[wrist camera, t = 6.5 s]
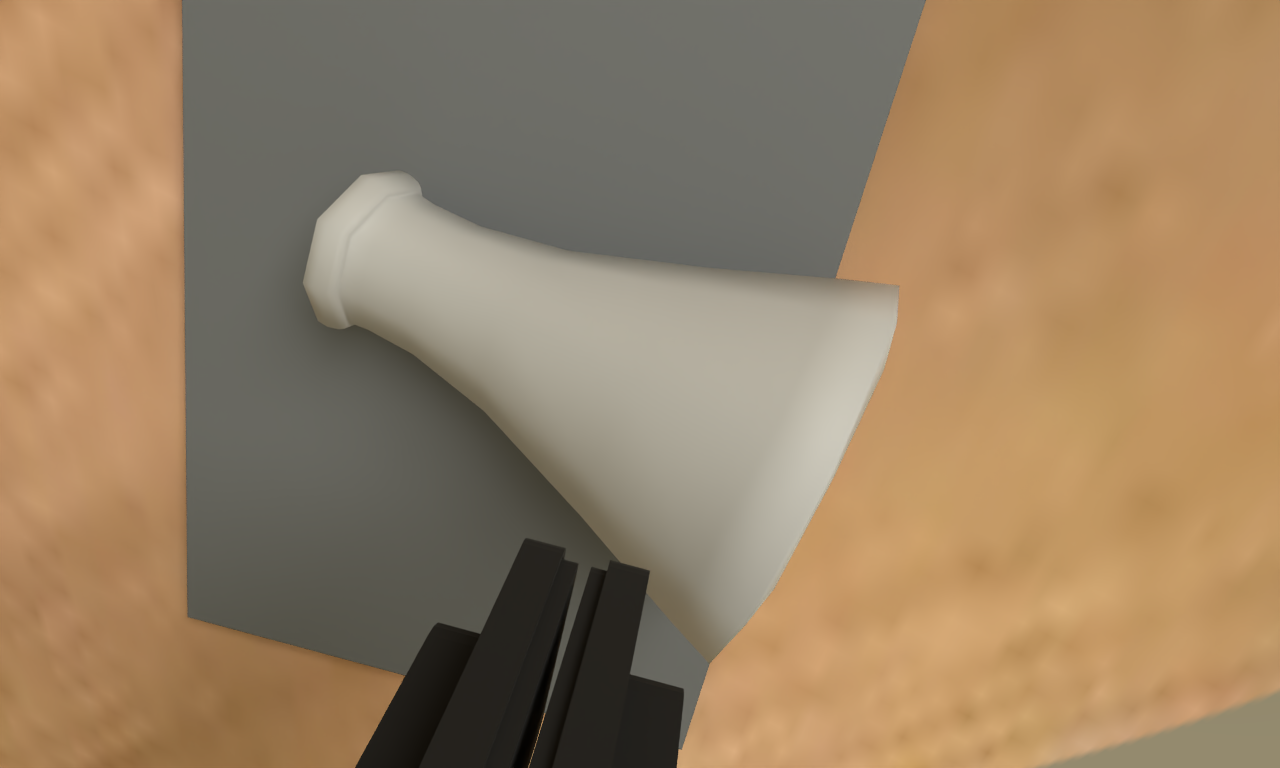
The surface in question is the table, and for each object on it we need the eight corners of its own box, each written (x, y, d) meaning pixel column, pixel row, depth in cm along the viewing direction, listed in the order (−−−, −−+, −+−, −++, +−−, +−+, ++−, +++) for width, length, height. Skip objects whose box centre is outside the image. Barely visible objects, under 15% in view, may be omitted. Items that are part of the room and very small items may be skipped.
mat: (198, 605, 23) (187, 617, 23) (197, -248, 15) (179, -257, 15) (682, 735, 23) (681, 749, 22) (945, -74, 15) (950, -78, 14)
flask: (690, 736, 15) (232, 475, 16) (795, 477, 20) (444, 298, 21) (867, 483, 10) (193, 143, 11) (944, 230, 15) (478, 19, 17)
